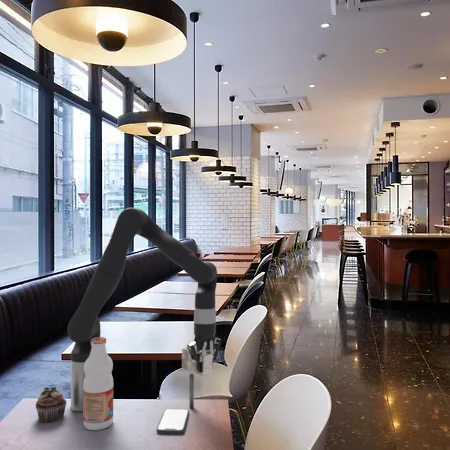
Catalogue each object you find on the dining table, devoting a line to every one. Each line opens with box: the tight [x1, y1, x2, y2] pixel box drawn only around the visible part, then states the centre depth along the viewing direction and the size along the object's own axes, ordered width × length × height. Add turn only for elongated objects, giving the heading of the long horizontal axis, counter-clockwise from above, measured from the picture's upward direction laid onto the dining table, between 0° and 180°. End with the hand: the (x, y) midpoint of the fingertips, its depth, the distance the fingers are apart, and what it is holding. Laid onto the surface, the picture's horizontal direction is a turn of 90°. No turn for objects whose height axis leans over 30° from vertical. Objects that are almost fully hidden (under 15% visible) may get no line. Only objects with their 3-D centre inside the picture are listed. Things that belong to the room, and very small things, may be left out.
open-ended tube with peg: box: [181, 346, 213, 378], centre depth 148 cm, size 12×5×7 cm, turn 41°
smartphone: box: [156, 408, 190, 435], centre depth 139 cm, size 9×2×16 cm
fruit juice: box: [82, 336, 114, 431], centre depth 138 cm, size 9×9×28 cm
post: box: [188, 372, 195, 409], centre depth 150 cm, size 2×2×12 cm
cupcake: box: [35, 386, 67, 424], centre depth 142 cm, size 10×10×10 cm
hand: (204, 370), depth 145 cm, fingers closed on open-ended tube with peg, 3 cm apart
